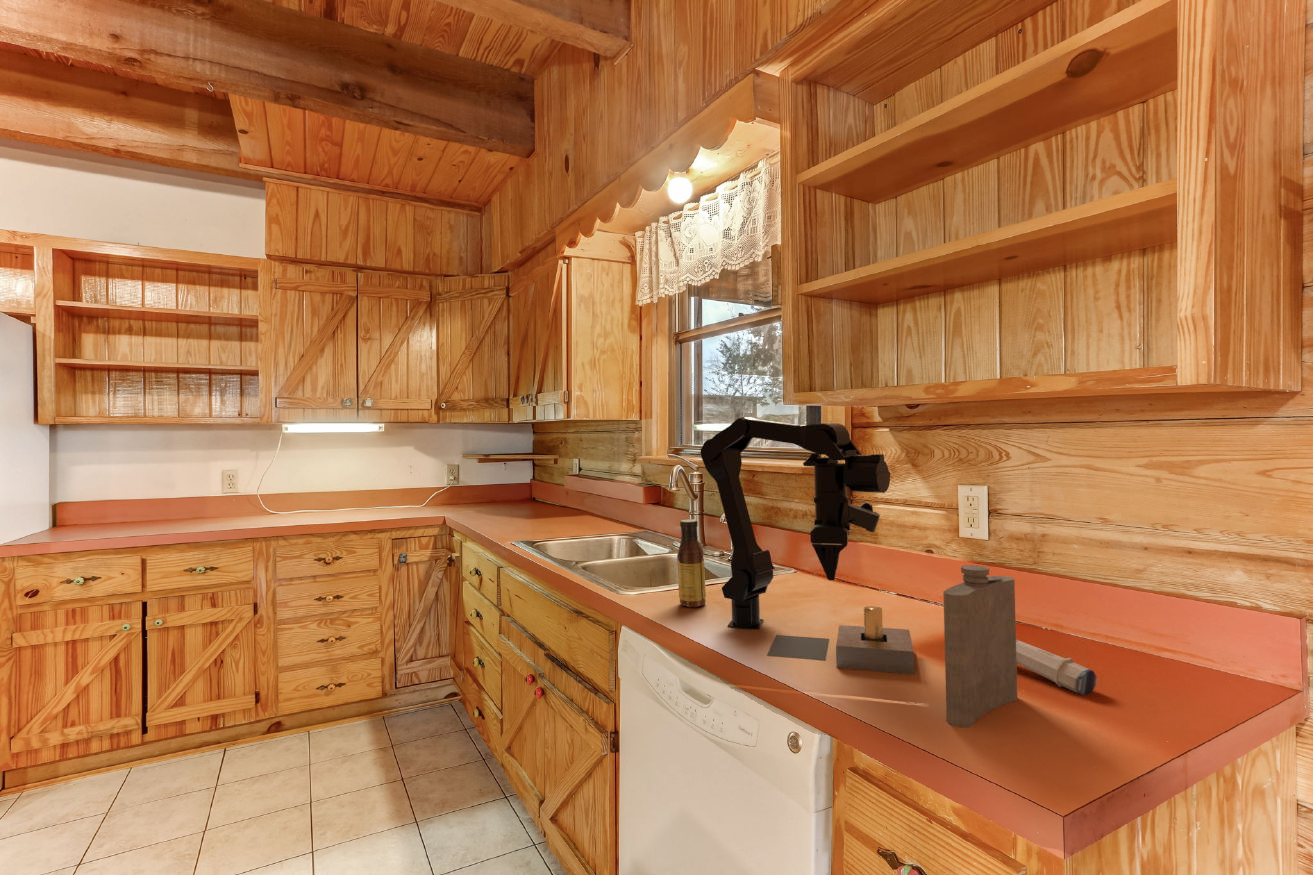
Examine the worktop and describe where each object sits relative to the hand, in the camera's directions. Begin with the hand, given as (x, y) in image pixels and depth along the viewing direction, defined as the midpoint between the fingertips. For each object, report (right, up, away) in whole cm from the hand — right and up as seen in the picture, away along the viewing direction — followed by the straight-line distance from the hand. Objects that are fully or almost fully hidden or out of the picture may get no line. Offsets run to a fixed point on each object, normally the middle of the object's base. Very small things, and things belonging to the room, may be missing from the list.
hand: (832, 574), depth 119 cm
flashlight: (+26, -13, -13) cm, 32 cm away
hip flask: (+13, -13, -28) cm, 34 cm away
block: (+5, -13, -9) cm, 16 cm away
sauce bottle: (-24, -14, +30) cm, 41 cm away
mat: (-7, -13, -2) cm, 15 cm away
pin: (+5, -13, -9) cm, 16 cm away
